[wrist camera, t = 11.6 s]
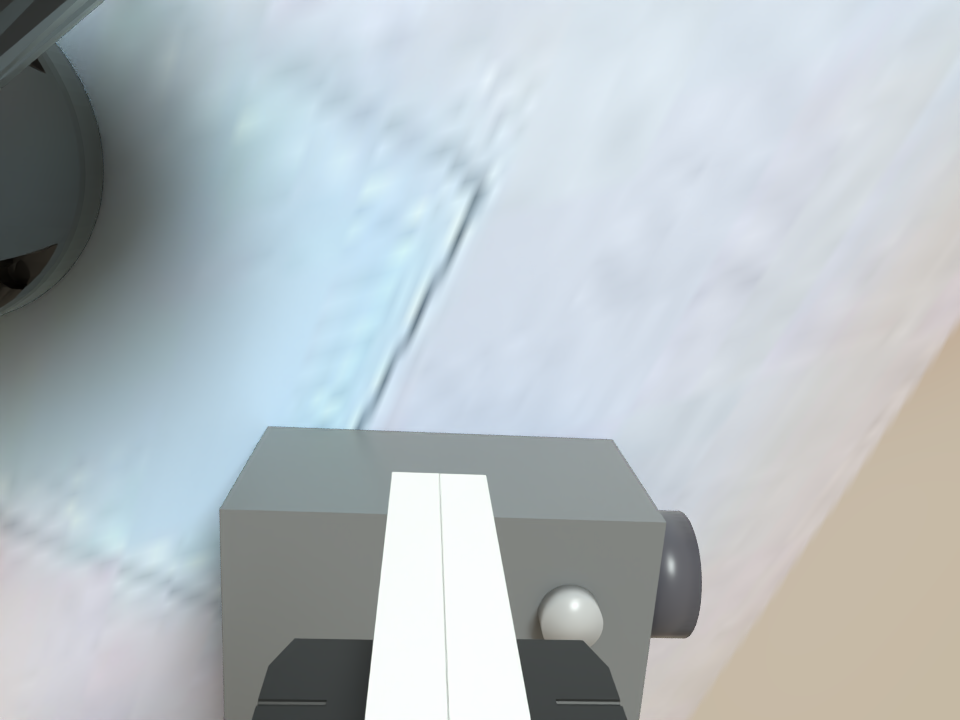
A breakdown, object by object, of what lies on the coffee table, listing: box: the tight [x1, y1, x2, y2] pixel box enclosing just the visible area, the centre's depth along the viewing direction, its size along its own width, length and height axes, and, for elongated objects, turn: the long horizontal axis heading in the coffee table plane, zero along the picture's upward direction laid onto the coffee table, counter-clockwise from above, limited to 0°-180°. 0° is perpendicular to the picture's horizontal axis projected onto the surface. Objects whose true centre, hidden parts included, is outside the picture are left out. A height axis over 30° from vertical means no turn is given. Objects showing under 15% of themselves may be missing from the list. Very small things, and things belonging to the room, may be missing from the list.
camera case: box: [220, 426, 702, 720], centre depth 35 cm, size 19×12×10 cm, turn 86°
